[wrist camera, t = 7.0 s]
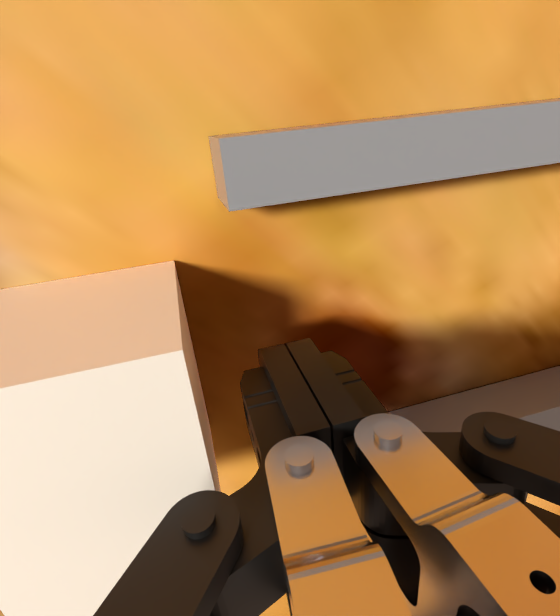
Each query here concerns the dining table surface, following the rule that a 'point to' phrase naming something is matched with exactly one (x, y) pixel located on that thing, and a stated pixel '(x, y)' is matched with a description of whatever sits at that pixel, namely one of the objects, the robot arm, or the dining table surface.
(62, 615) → the block
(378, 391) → the dining table surface
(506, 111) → the channel
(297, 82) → the dining table surface
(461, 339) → the dining table surface
